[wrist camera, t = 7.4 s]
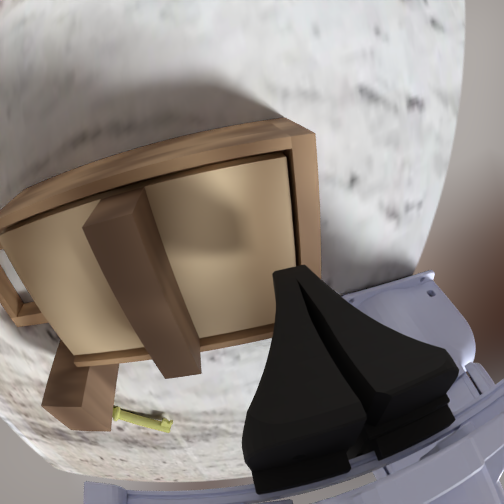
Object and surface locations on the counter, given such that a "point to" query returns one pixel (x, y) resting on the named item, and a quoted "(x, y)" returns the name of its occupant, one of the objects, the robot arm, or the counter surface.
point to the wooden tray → (169, 162)
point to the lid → (161, 260)
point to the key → (142, 420)
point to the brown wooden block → (80, 393)
